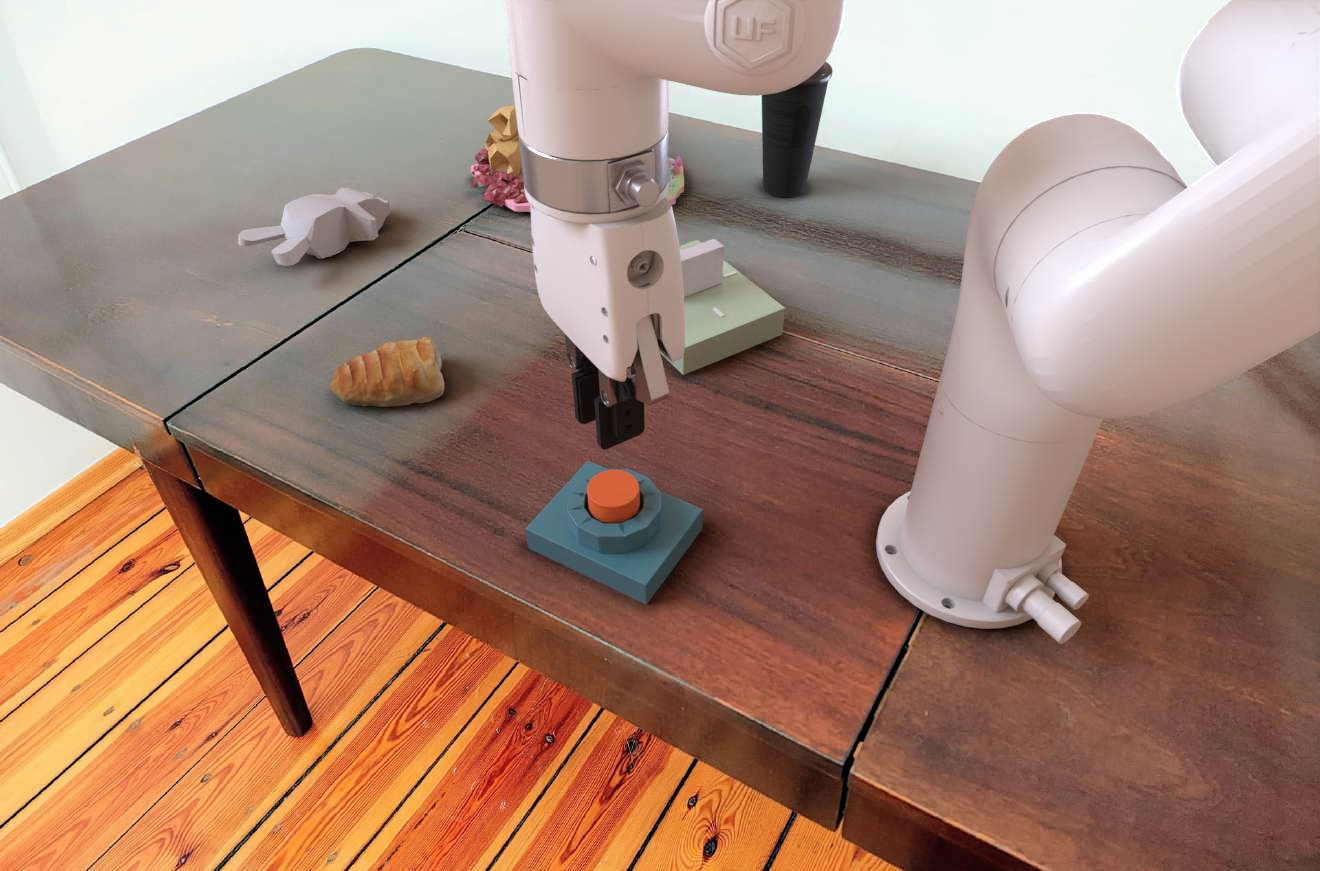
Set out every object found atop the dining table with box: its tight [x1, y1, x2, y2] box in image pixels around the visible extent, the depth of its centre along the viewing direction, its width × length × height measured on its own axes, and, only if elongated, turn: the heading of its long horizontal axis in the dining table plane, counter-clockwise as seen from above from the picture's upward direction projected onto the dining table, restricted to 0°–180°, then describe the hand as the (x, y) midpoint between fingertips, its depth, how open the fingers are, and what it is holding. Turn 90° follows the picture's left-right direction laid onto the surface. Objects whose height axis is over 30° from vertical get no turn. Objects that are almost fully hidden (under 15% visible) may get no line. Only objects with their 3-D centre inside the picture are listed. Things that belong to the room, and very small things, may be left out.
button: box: [587, 470, 640, 524], centre depth 65 cm, size 4×4×2 cm
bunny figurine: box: [237, 186, 391, 267], centre depth 96 cm, size 10×5×15 cm
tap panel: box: [660, 239, 786, 376], centre depth 87 cm, size 14×11×3 cm
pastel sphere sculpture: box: [470, 104, 685, 213], centre depth 105 cm, size 25×24×9 cm
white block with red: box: [680, 238, 725, 297], centre depth 85 cm, size 6×2×4 cm, turn 123°
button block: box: [525, 460, 704, 605], centre depth 66 cm, size 10×8×4 cm
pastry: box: [330, 336, 445, 408], centre depth 79 cm, size 9×7×4 cm
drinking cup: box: [761, 60, 834, 199], centre depth 100 cm, size 8×8×20 cm
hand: (609, 425), depth 60 cm, fingers closed
